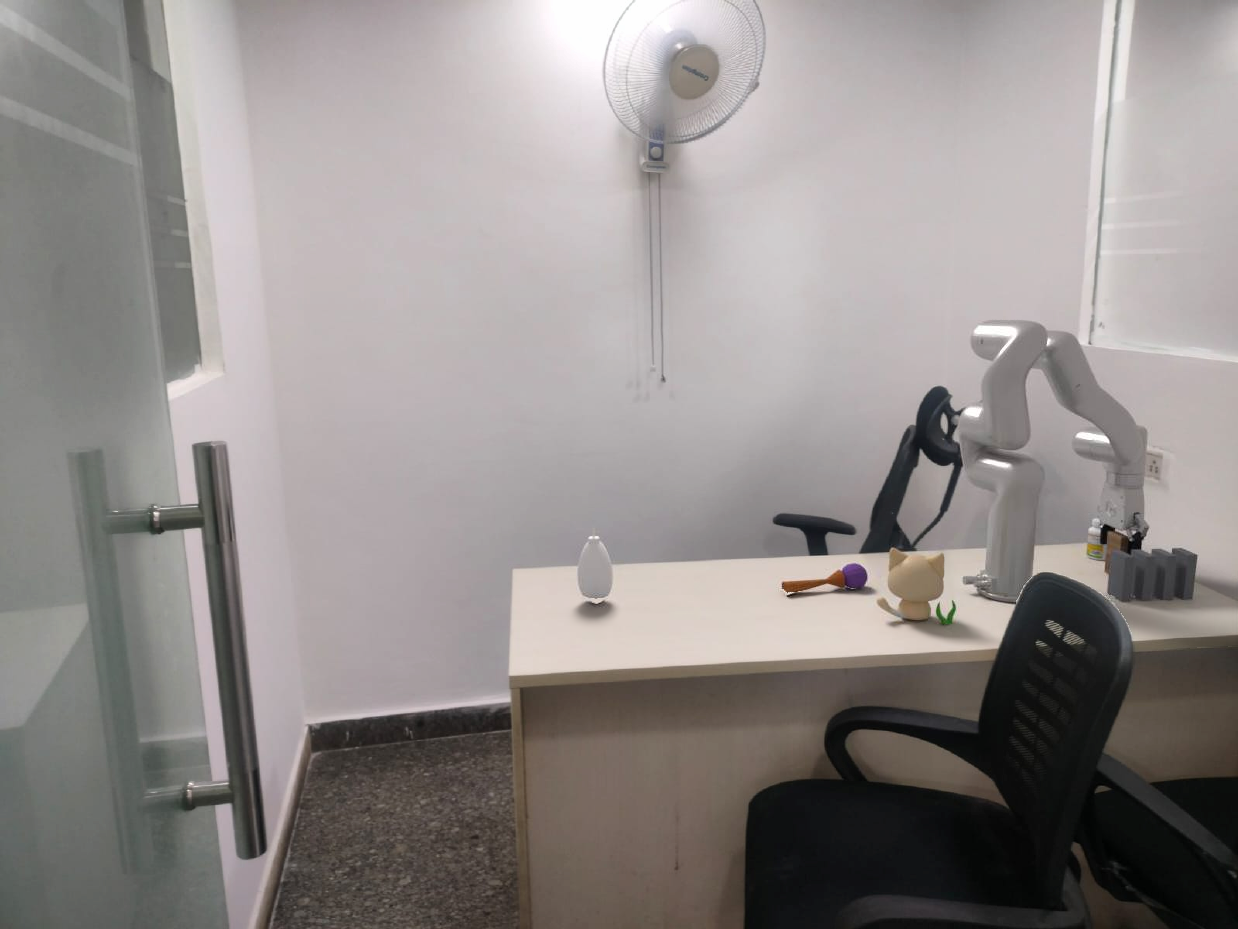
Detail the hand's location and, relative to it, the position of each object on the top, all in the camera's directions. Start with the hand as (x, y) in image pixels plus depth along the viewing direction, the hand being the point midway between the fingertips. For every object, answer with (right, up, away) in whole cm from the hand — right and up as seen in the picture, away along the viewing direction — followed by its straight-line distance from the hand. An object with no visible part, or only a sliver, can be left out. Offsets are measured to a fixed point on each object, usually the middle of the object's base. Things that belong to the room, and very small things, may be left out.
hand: (1119, 550), depth 191 cm
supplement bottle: (+3, -4, +14) cm, 15 cm away
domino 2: (-8, -9, -13) cm, 18 cm away
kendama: (-70, -9, -3) cm, 70 cm away
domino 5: (+5, -9, -13) cm, 16 cm away
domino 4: (+1, -9, -13) cm, 15 cm away
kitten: (-55, -12, -21) cm, 60 cm away
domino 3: (-4, -9, -13) cm, 16 cm away
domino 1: (0, -6, +1) cm, 6 cm away
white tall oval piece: (-122, -11, -7) cm, 123 cm away
